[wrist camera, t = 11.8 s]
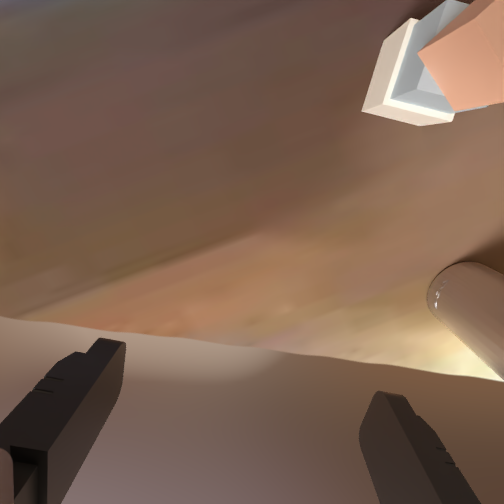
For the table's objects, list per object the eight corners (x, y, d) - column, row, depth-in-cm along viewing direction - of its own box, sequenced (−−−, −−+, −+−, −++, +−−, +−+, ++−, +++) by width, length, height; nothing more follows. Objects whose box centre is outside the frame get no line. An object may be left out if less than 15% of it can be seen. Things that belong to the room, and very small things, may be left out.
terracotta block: (518, 58, 23) (612, 25, 17) (454, 111, 25) (521, 98, 18) (482, -7, 22) (569, -67, 16) (416, 52, 23) (474, 18, 17)
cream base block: (445, 57, 33) (485, 38, 27) (419, 126, 35) (451, 121, 29) (383, 40, 32) (410, 17, 27) (361, 111, 35) (382, 103, 29)
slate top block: (477, 42, 27) (524, 19, 23) (449, 113, 29) (487, 106, 24) (414, 25, 27) (448, -2, 22) (389, 98, 29) (416, 88, 24)
